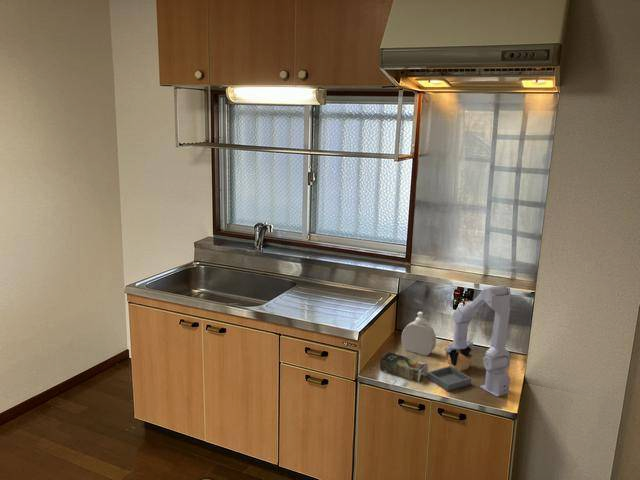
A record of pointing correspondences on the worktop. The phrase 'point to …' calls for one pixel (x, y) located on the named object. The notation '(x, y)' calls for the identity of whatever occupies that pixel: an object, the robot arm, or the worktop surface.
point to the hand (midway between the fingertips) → (458, 363)
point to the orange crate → (460, 362)
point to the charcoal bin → (449, 378)
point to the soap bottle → (419, 336)
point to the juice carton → (404, 367)
